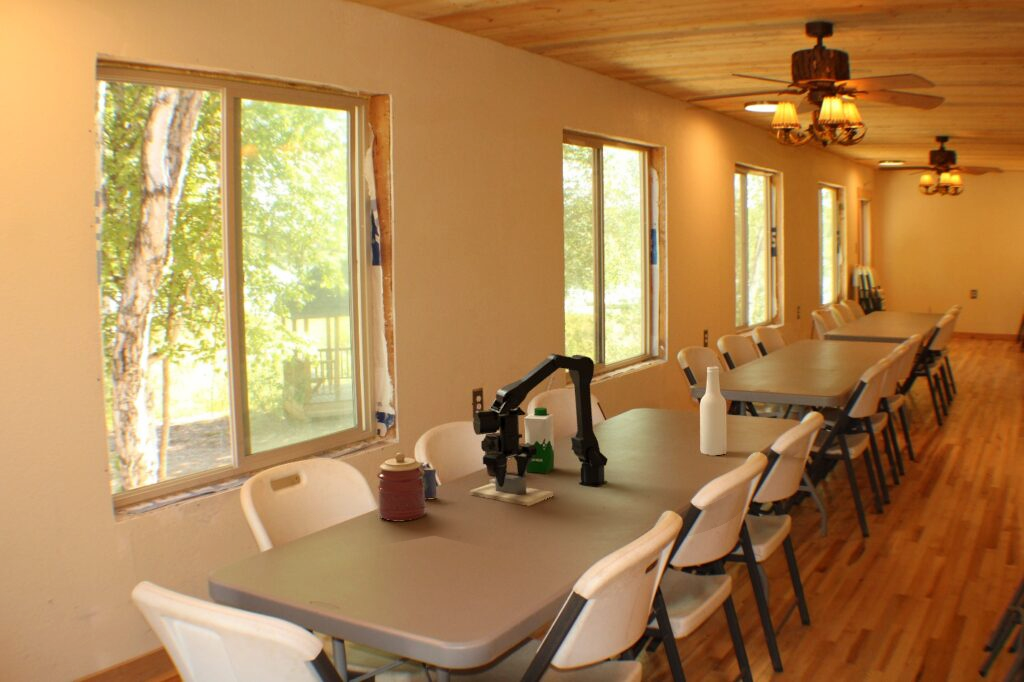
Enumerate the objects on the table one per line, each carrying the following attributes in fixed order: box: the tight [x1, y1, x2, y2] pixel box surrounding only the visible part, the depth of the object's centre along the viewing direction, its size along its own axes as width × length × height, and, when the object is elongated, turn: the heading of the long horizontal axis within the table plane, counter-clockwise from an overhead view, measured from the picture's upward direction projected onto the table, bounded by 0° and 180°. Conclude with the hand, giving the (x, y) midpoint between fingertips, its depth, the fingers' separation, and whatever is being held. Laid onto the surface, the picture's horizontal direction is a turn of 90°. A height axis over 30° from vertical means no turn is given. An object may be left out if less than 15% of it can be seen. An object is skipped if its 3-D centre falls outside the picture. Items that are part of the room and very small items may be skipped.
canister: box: [376, 452, 427, 521], centre depth 258 cm, size 13×13×18 cm
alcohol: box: [699, 365, 728, 455], centre depth 320 cm, size 9×9×30 cm
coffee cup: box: [483, 432, 509, 476], centre depth 302 cm, size 9×8×13 cm
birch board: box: [469, 483, 554, 507], centre depth 276 cm, size 22×12×1 cm, turn 52°
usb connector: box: [489, 473, 527, 495], centre depth 276 cm, size 13×4×4 cm, turn 52°
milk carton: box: [523, 407, 555, 474], centre depth 304 cm, size 9×9×20 cm
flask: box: [420, 461, 437, 498], centre depth 276 cm, size 9×3×11 cm, turn 68°
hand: (510, 483), depth 275 cm, fingers open, 9 cm apart
